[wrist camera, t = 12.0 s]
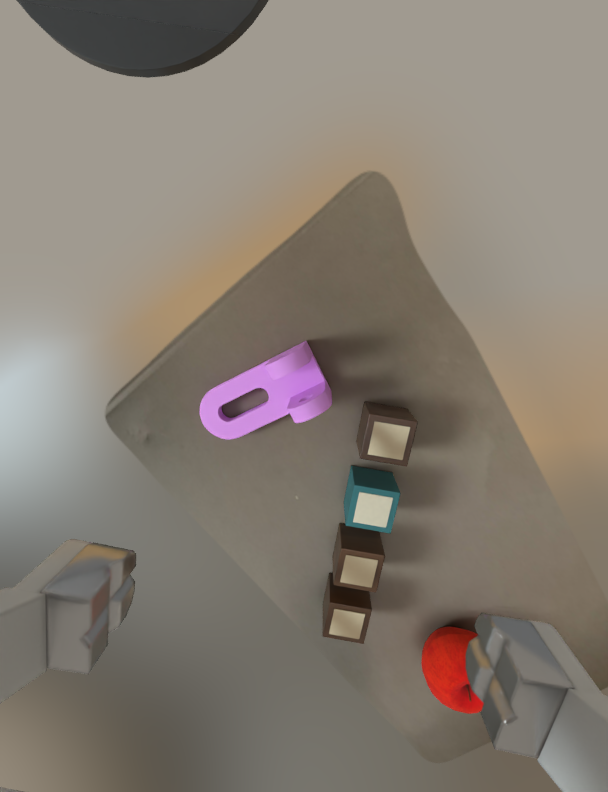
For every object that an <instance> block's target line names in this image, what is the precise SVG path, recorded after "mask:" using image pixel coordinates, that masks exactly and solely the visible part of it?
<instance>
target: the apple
mask: <svg viewBox="0 0 608 792" xmlns="http://www.w3.org/2000/svg"><path fill="white" fill-rule="evenodd" d="M477 635H478V634H476V633H474V632H472V631H468V630H465V629H461V628H456V627H442V628H439V629H437V630H435V631H434V632H433V633H432V634H431V635H430V636H429V638H428V639H427V641H426V642H425V645H424V648H423V651H422V670H423V673H424V676H425V679H426V681H427V684H428V686H429V688H430V690H431V692H432V694H433V695H434V696H435V697H436V698H437V699H438V700H439V701H440V702H441V703H442V704H444V705H446V706H447V707H449V708H451V709H453V710H455V711H459V712H463V713H468V714H470V713H478V712H480V711H481V710H482V707H483V704H484V703H483V702H482V701H481V700H480V699H479V698H478V697H477V695H476V694H475V693H474V692H473V691H472V689H471V686H470V683H469V681H468V677H467V672H466V650H467V647H468V643H469V641H471V640H472V639H473V638H475V637H476V636H477Z"/></svg>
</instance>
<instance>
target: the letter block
mask: <svg viewBox="0 0 608 792" xmlns="http://www.w3.org/2000/svg"><path fill="white" fill-rule="evenodd" d="M399 497H400V491H399V488H398V486H397V483H396V481H395V478H394V476H393V473H391V472H385V471H380V470H374V469H368V468H362V467H356V466H351V469H350V474H349V479H348V484H347V489H346V494H345V498H344V511H345V522H346V526H351V527H356V528H362V529H368V530H374V531H379V532H385V533H391V530H392V526H393V522H394V517H395V513H396V509H397V505H398V501H399Z"/></svg>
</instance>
